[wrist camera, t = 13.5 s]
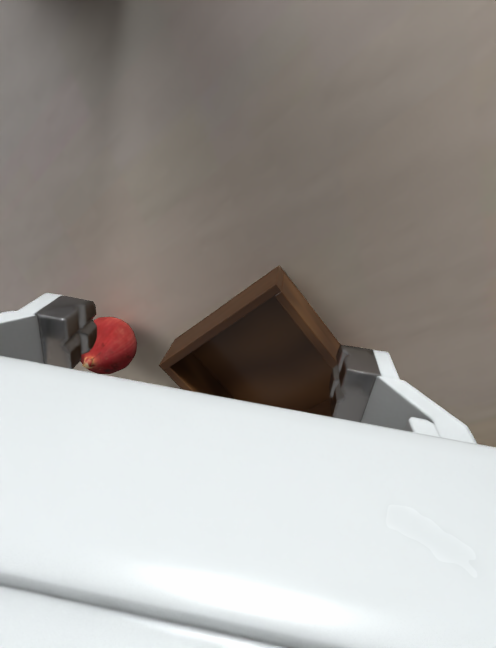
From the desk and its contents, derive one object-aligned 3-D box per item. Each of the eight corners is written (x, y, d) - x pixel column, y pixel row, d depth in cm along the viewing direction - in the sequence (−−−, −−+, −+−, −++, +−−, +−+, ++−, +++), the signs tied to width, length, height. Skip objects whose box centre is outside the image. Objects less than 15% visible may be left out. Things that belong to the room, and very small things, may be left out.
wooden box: (174, 339, 43) (158, 365, 38) (279, 265, 37) (275, 284, 33) (264, 436, 47) (260, 470, 42) (369, 382, 42) (378, 414, 37)
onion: (157, 340, 43) (128, 380, 36) (118, 358, 45) (83, 400, 38) (126, 297, 41) (90, 331, 34) (87, 318, 43) (45, 354, 36)
